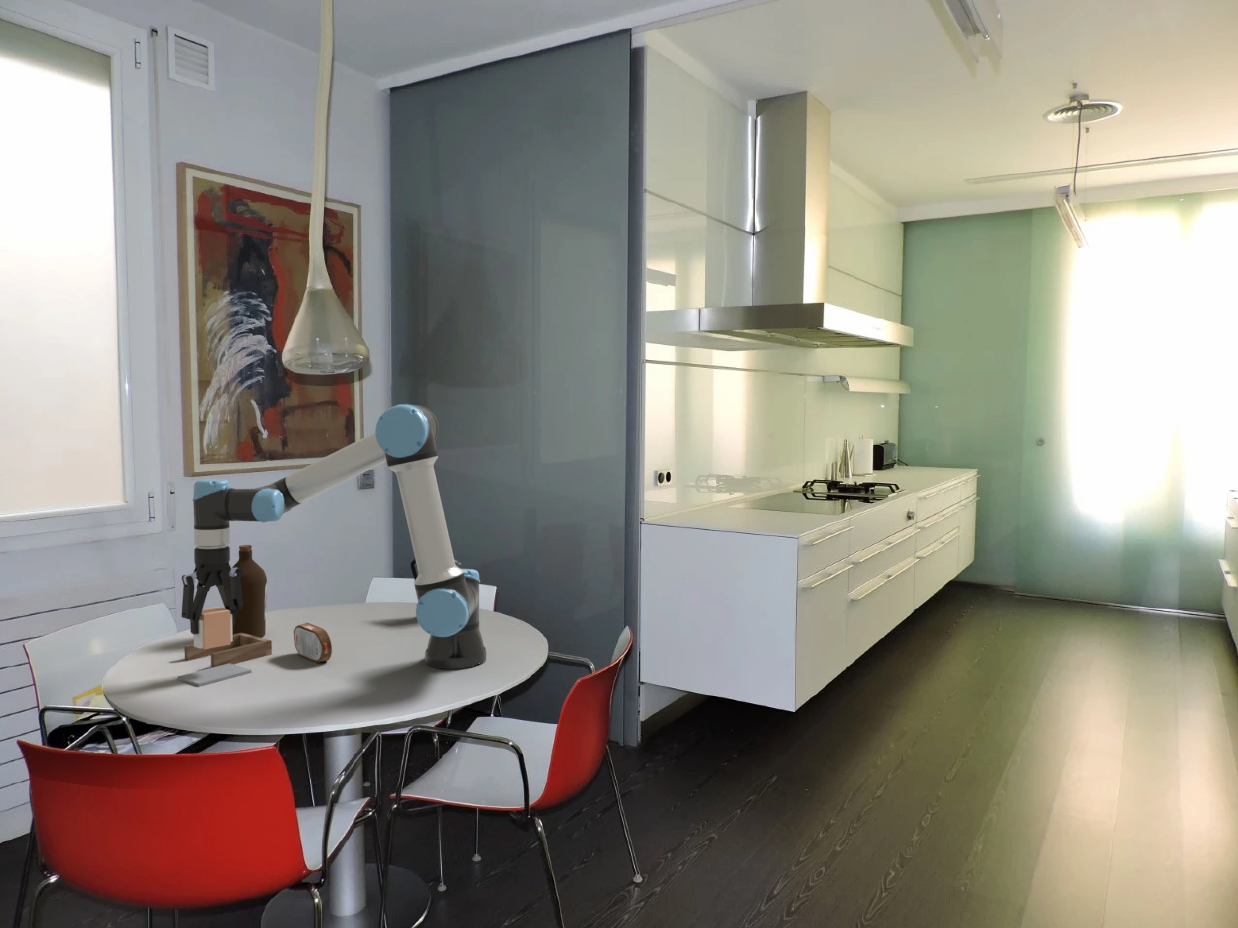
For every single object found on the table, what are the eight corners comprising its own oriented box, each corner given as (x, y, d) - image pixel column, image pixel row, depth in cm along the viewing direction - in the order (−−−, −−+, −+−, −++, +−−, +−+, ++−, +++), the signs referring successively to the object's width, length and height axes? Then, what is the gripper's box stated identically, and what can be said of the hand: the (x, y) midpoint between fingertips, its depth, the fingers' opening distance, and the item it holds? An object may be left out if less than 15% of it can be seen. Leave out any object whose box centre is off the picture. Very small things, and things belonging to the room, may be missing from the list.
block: (230, 644, 207) (230, 610, 207) (204, 649, 203) (203, 614, 202) (219, 639, 211) (218, 606, 211) (193, 644, 207) (193, 610, 206)
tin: (333, 663, 217) (332, 630, 217) (321, 666, 215) (320, 632, 215) (303, 651, 228) (302, 619, 227) (291, 654, 225) (291, 621, 225)
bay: (271, 654, 225) (271, 640, 225) (214, 668, 212) (214, 654, 212) (241, 645, 232) (241, 632, 232) (184, 659, 219) (184, 645, 219)
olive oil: (234, 643, 234) (232, 550, 233) (219, 635, 242) (218, 545, 240) (274, 636, 242) (272, 546, 240) (259, 629, 249) (257, 541, 248)
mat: (251, 672, 210) (251, 669, 210) (199, 686, 199) (199, 683, 199) (229, 665, 215) (229, 663, 215) (177, 679, 204) (177, 676, 204)
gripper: (240, 539, 215) (242, 632, 216) (161, 549, 199) (163, 650, 200) (259, 542, 211) (260, 637, 212) (180, 553, 195) (181, 656, 196)
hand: (213, 643), depth 206 cm, fingers closed on block, 6 cm apart
